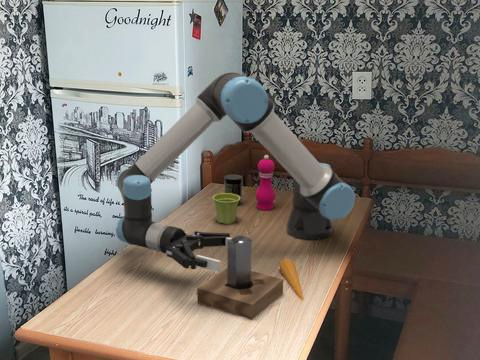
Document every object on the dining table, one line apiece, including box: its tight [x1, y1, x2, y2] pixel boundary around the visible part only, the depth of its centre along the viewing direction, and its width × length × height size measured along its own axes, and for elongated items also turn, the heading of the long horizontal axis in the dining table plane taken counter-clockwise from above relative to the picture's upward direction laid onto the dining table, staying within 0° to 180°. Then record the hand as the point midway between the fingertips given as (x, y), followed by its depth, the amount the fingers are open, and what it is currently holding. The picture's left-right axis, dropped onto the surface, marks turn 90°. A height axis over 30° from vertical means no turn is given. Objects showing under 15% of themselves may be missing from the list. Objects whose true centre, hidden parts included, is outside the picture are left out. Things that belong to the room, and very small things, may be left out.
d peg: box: [226, 234, 252, 290], centre depth 151 cm, size 5×5×16 cm
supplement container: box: [223, 173, 244, 206], centre depth 222 cm, size 7×7×10 cm
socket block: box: [196, 267, 284, 321], centre depth 153 cm, size 16×16×4 cm
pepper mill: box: [255, 154, 276, 211], centre depth 217 cm, size 7×7×20 cm
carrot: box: [279, 258, 304, 301], centre depth 160 cm, size 20×4×4 cm, turn 10°
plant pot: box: [212, 192, 240, 225], centre depth 205 cm, size 9×9×9 cm
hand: (234, 256), depth 151 cm, fingers open, 13 cm apart
